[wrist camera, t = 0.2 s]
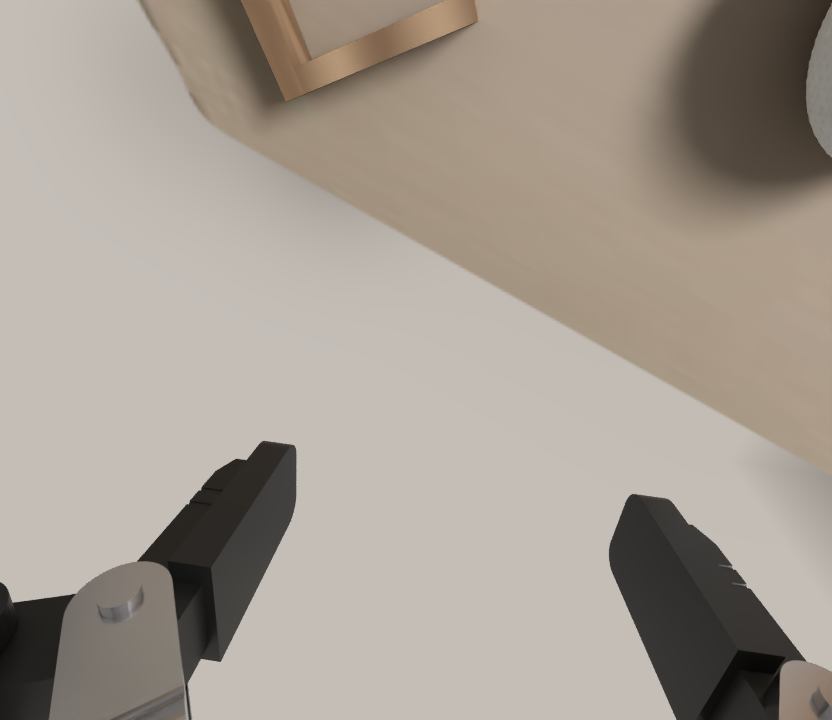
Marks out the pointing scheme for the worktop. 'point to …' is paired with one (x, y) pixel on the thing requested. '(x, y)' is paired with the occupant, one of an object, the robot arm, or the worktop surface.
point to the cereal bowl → (821, 85)
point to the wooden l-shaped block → (304, 75)
